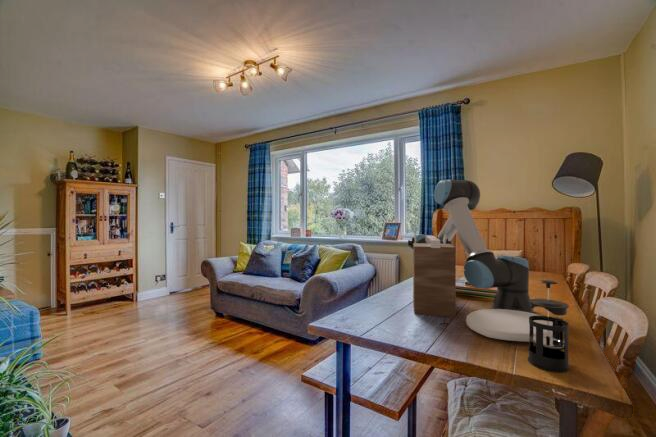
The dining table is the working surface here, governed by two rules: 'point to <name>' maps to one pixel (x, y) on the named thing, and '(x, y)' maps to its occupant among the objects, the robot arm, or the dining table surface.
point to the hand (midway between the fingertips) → (430, 236)
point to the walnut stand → (434, 280)
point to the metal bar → (432, 241)
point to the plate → (504, 324)
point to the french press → (548, 347)
